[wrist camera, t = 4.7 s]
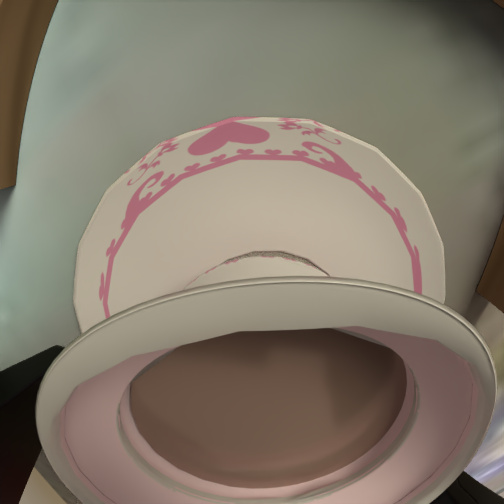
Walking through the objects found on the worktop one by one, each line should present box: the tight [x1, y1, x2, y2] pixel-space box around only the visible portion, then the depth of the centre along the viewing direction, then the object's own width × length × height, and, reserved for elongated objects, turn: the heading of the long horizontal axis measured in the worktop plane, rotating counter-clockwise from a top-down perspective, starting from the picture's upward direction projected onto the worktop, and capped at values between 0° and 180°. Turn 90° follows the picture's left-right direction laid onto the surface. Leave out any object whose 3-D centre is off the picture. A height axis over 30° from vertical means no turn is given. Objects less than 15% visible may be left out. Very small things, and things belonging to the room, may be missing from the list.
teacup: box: [35, 117, 497, 504], centre depth 7 cm, size 12×12×6 cm
